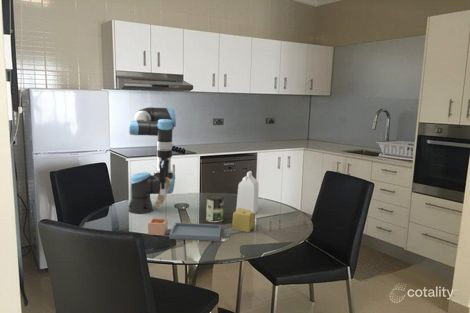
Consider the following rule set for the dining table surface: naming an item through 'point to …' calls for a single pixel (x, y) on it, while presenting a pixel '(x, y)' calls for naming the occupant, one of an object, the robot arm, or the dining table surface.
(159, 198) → the light wooden bar
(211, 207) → the coffee can
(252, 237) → the dining table surface
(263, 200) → the dining table surface
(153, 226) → the pink open cubby
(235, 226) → the cheese
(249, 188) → the milk
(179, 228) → the slate tray
